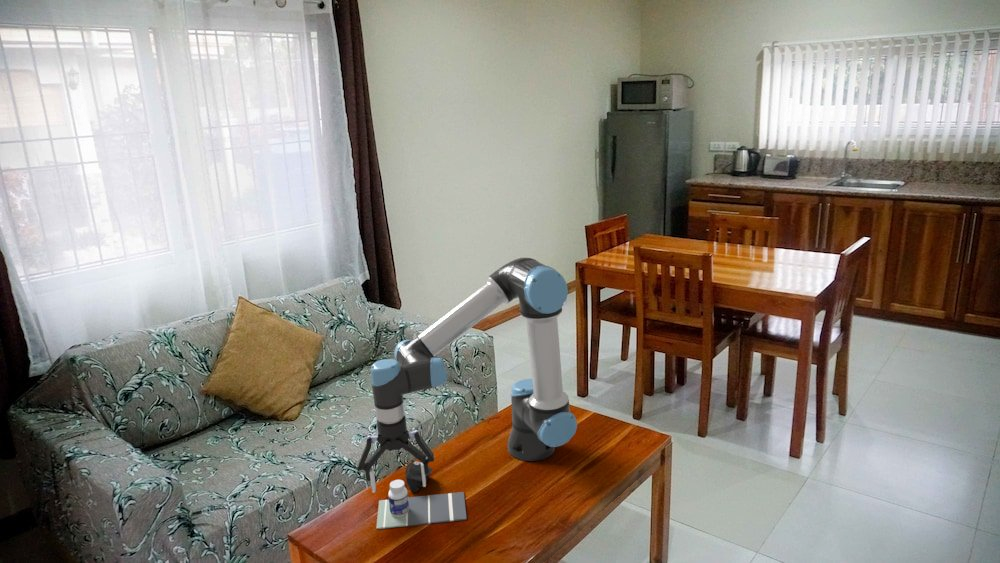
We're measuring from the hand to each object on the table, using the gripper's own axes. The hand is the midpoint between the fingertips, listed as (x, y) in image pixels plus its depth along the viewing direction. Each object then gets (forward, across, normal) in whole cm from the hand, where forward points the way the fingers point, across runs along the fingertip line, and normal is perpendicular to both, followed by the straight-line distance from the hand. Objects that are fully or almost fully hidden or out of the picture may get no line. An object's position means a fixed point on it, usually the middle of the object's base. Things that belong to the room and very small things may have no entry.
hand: (399, 486), depth 174 cm
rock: (+9, -5, -13) cm, 17 cm away
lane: (+8, -5, 0) cm, 10 cm away
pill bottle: (+8, +1, 0) cm, 8 cm away
